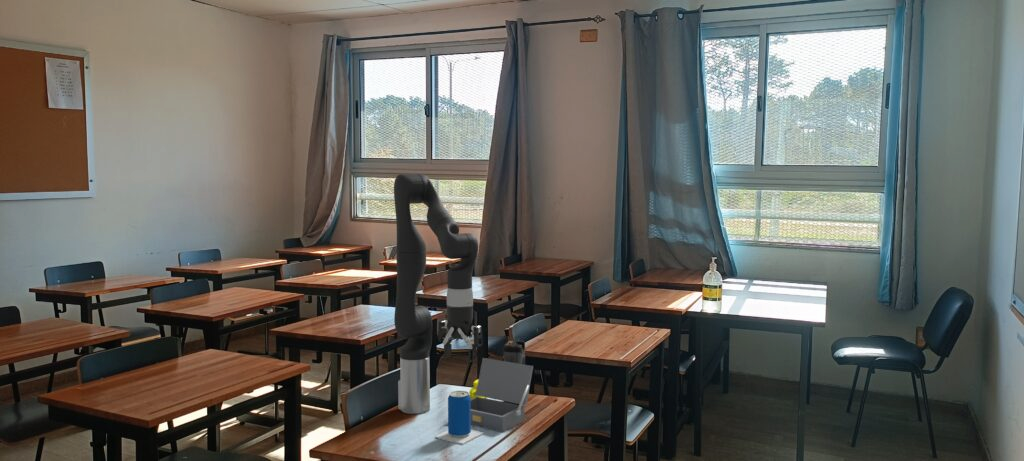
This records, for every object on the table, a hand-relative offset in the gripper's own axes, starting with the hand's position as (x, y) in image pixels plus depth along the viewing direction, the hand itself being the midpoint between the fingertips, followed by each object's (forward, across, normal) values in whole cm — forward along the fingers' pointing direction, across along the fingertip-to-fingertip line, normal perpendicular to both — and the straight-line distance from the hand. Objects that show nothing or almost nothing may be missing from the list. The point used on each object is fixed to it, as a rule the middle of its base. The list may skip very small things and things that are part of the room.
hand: (460, 359), depth 206 cm
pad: (+22, 0, -1) cm, 22 cm away
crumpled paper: (+23, -14, +27) cm, 38 cm away
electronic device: (+22, -3, +33) cm, 40 cm away
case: (+22, +1, +16) cm, 28 cm away
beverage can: (+22, 0, -1) cm, 22 cm away
